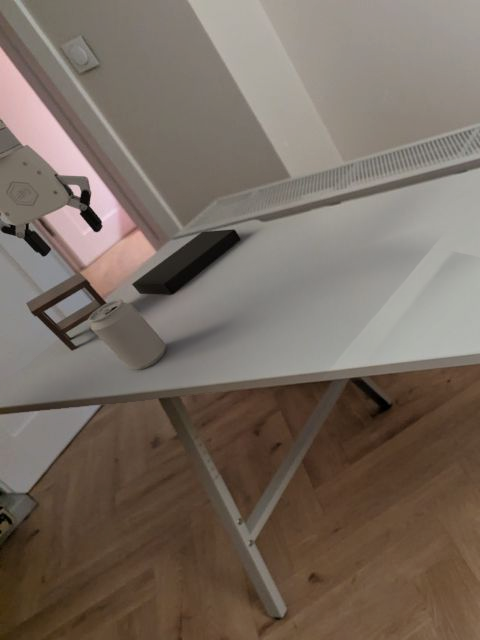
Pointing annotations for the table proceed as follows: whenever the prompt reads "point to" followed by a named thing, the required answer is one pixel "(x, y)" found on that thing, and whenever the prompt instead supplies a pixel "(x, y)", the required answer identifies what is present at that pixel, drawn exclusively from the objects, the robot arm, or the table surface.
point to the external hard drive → (186, 262)
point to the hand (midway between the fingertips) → (73, 241)
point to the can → (127, 334)
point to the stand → (58, 295)
